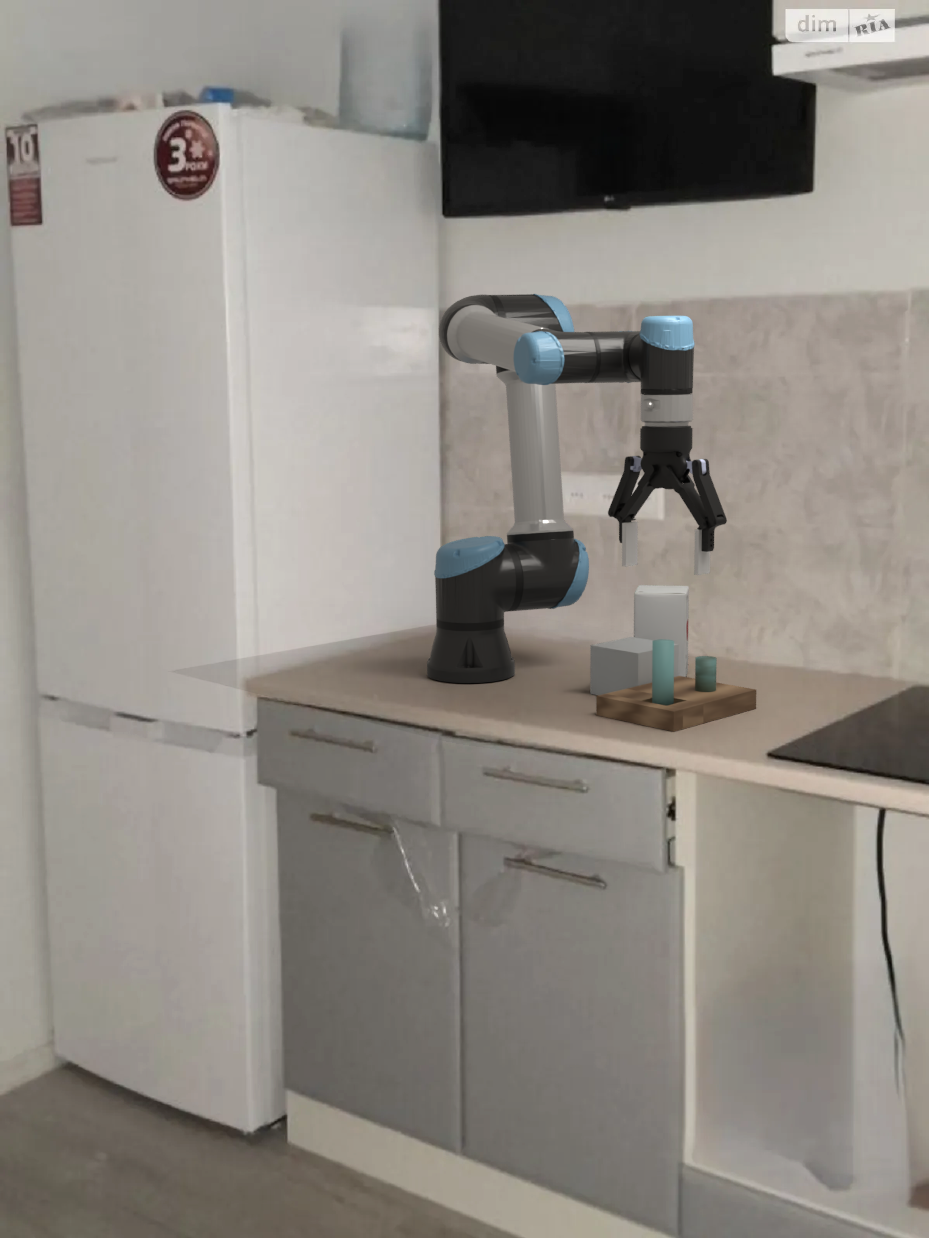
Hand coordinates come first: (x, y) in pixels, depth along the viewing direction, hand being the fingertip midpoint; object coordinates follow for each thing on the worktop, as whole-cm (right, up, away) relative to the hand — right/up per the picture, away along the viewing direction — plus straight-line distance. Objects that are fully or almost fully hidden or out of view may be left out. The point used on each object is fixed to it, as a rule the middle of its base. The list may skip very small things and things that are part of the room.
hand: (665, 569), depth 224 cm
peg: (0, -22, +4) cm, 23 cm away
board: (+3, -21, +9) cm, 23 cm away
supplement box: (+4, -17, +36) cm, 40 cm away
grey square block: (-2, -19, +22) cm, 29 cm away
